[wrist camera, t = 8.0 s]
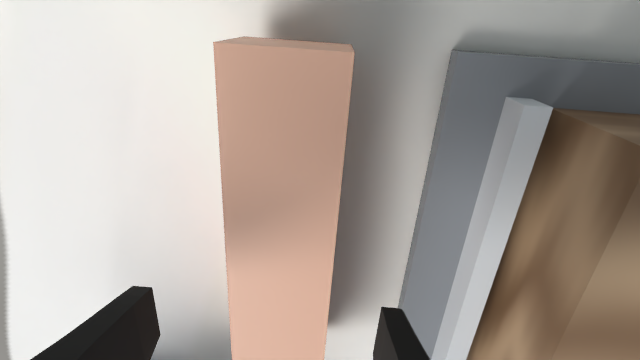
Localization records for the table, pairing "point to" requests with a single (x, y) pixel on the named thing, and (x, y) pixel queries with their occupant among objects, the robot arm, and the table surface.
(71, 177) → the table surface
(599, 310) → the tan cardboard box
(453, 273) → the jig
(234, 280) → the block
